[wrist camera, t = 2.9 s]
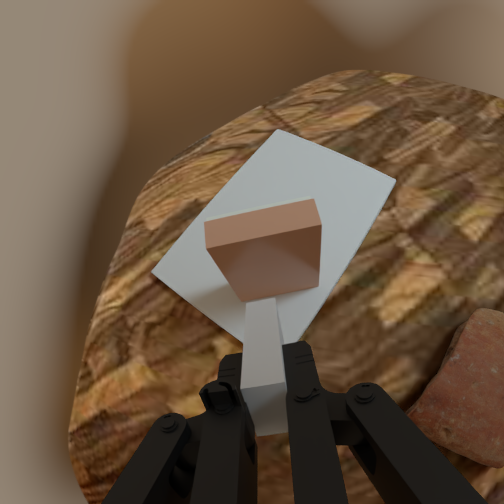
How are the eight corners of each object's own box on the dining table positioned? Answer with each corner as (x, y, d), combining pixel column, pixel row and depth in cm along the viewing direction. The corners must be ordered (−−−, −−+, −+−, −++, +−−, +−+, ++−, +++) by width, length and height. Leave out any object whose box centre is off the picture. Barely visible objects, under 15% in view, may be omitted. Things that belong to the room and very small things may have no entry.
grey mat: (278, 132, 43) (277, 128, 42) (395, 183, 36) (396, 179, 35) (153, 274, 36) (151, 271, 35) (278, 367, 29) (277, 367, 28)
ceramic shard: (567, 346, 18) (504, 476, 16) (535, 348, 24) (477, 460, 22) (489, 279, 22) (410, 432, 20) (459, 290, 28) (390, 416, 26)
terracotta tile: (318, 286, 31) (321, 224, 21) (241, 301, 32) (205, 248, 21) (313, 264, 32) (313, 195, 22) (238, 279, 33) (203, 218, 23)
